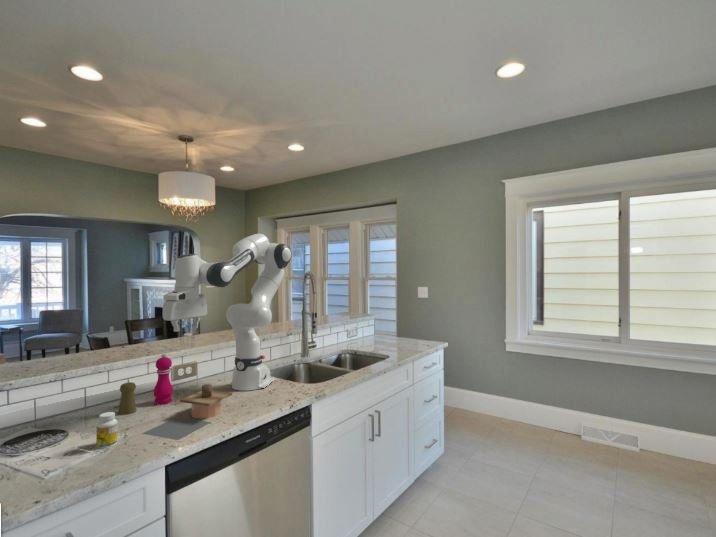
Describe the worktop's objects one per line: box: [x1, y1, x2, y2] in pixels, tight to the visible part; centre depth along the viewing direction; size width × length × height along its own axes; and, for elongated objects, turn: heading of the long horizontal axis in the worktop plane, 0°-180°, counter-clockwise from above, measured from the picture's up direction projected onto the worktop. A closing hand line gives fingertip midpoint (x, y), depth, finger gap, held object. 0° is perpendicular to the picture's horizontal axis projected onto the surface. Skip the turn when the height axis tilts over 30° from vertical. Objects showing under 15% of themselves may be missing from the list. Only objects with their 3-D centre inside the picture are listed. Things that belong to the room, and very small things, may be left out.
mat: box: [142, 416, 212, 441], centre depth 127 cm, size 15×15×1 cm
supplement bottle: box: [95, 411, 119, 449], centre depth 115 cm, size 5×5×10 cm
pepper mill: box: [152, 353, 174, 406], centre depth 154 cm, size 7×7×20 cm
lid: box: [179, 383, 233, 406], centre depth 141 cm, size 13×13×5 cm
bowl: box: [191, 400, 222, 420], centre depth 141 cm, size 10×10×6 cm
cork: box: [117, 381, 137, 416], centre depth 142 cm, size 6×6×11 cm
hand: (186, 329), depth 147 cm, fingers open, 8 cm apart
